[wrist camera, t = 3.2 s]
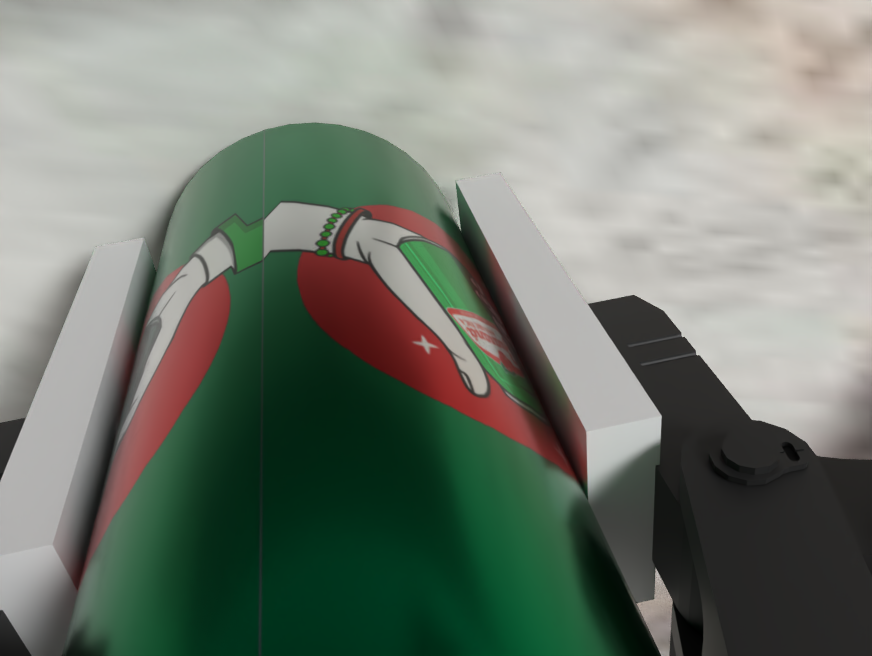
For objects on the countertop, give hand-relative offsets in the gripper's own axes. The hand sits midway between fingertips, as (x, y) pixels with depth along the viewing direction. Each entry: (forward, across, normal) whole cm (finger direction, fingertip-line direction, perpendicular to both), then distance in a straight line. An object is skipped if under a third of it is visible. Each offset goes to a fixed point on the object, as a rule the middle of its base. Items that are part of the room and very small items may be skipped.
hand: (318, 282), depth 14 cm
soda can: (+1, 0, 0) cm, 1 cm away
